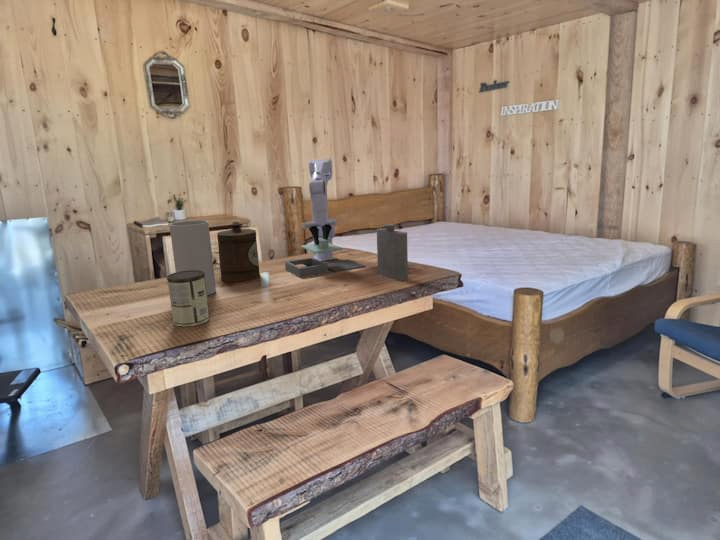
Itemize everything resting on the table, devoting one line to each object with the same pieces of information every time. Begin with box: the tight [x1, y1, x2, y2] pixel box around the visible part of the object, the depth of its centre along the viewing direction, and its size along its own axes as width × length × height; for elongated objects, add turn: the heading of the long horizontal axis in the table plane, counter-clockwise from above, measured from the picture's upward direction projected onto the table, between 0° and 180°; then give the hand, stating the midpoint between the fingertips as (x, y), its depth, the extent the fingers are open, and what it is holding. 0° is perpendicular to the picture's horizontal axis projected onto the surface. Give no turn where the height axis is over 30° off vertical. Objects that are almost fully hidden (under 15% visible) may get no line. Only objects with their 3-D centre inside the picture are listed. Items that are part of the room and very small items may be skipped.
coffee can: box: [166, 270, 211, 328], centre depth 140 cm, size 10×10×14 cm
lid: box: [300, 238, 344, 254], centre depth 197 cm, size 16×12×4 cm
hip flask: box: [376, 223, 409, 282], centre depth 180 cm, size 16×4×20 cm, turn 36°
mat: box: [325, 258, 367, 273], centre depth 203 cm, size 16×14×1 cm
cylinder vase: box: [169, 219, 217, 297], centre depth 167 cm, size 12×12×25 cm
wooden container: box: [216, 221, 261, 283], centre depth 188 cm, size 15×15×22 cm
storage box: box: [284, 257, 329, 278], centre depth 195 cm, size 16×12×4 cm
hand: (321, 244), depth 197 cm, fingers closed on lid, 3 cm apart
